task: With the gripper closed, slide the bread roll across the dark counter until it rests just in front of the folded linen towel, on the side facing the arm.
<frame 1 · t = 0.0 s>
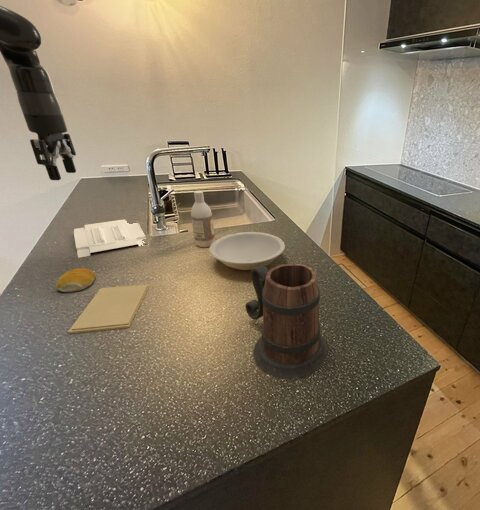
hand: (64, 176, 85), 27 cm above the worktop, tool pointing down, fingers open, 8 cm apart
bath foam: (205, 244, 115), on the worktop
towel: (113, 307, 79), on the worktop
tankard: (281, 342, 72), on the worktop
bread roll: (77, 285, 86), on the worktop
soup bowl: (249, 263, 104), on the worktop
tray: (110, 237, 114), on the worktop
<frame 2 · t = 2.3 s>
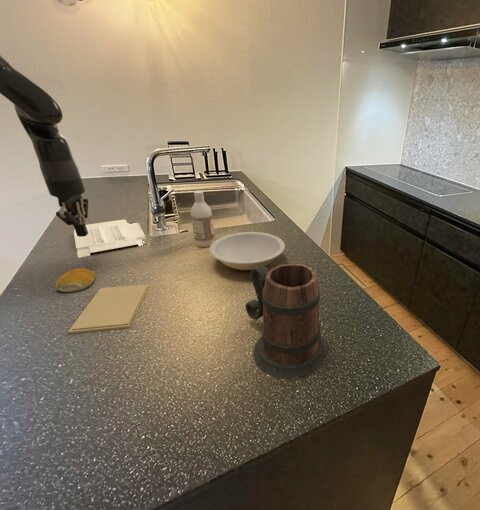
hand: (83, 235, 90), 11 cm above the worktop, tool pointing down, fingers closed
nothing on the worktop moved.
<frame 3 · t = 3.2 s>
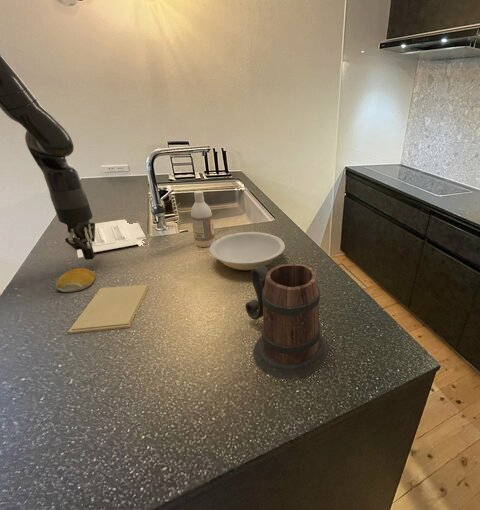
hand: (90, 258, 93), 3 cm above the worktop, tool pointing down, fingers closed
nothing on the worktop moved.
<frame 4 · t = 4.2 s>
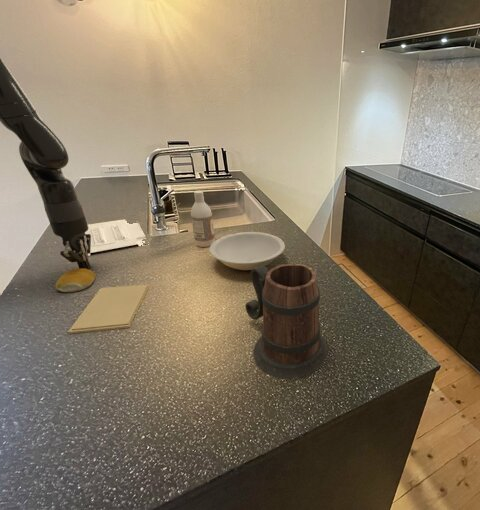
hand: (85, 270, 91), 1 cm above the worktop, tool pointing down, fingers closed
bread roll: (77, 285, 86), on the worktop, touching gripper
everything else where it was.
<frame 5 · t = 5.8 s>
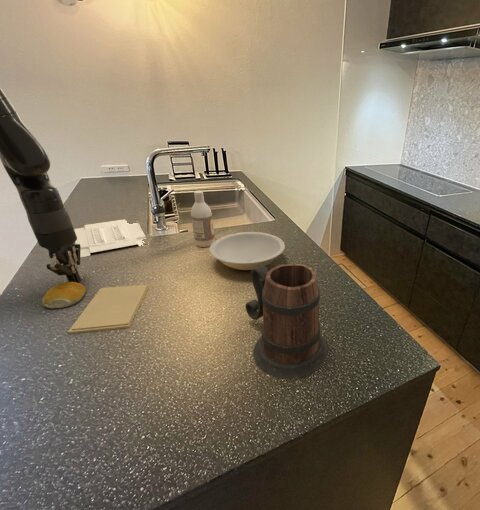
hand: (75, 283, 85), 1 cm above the worktop, tool pointing down, fingers closed
bread roll: (66, 300, 80), on the worktop, touching gripper
everything else where it was.
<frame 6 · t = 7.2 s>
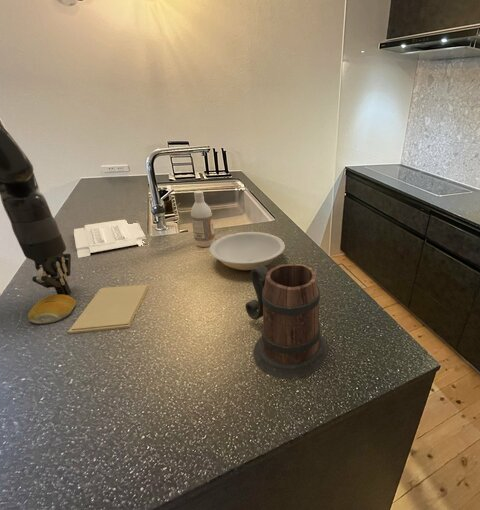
hand: (65, 295, 80), 1 cm above the worktop, tool pointing down, fingers closed
bread roll: (55, 314, 75), on the worktop, touching gripper
everything else where it was.
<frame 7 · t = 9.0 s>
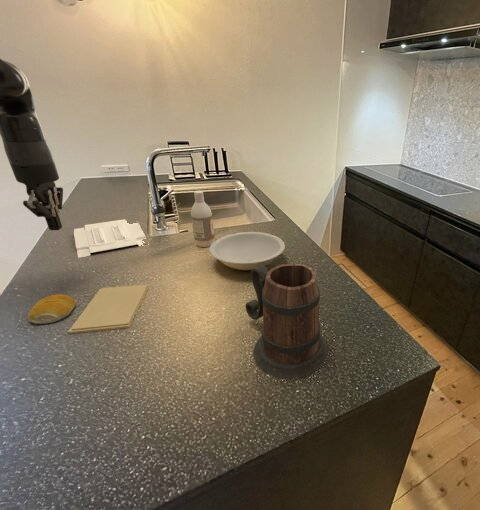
hand: (56, 229, 79), 17 cm above the worktop, tool pointing down, fingers closed
bread roll: (54, 314, 75), on the worktop
everything else where it was.
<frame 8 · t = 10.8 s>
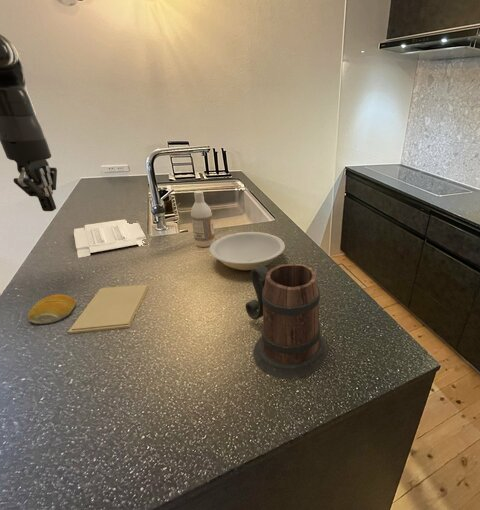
hand: (50, 210, 76), 22 cm above the worktop, tool pointing down, fingers closed
nothing on the worktop moved.
at the end: bread roll inside the target area (0.6 cm from its centre), on the worktop; bread roll touching worktop; bread roll moved 13.4 cm from its start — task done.
